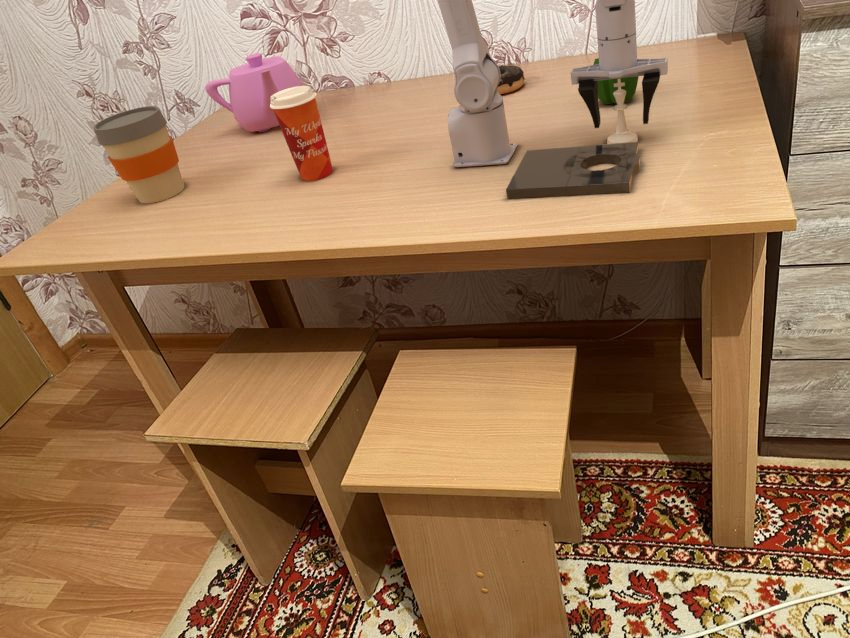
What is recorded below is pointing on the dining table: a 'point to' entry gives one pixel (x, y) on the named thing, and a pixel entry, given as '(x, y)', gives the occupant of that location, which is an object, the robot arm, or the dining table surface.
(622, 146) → the dark grey flat block
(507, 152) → the robot arm
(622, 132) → the chess piece
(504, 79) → the donut
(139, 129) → the reusable coffee cup
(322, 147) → the coffee cup
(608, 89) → the bell pepper
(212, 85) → the teapot
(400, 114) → the dining table surface
